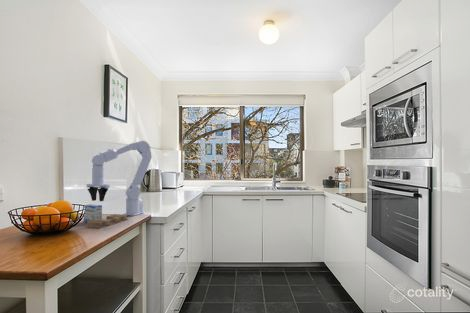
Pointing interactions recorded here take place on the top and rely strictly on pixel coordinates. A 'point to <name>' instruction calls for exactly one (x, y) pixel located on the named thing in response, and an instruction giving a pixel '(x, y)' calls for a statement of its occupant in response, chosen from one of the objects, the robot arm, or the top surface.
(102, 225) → the walnut channel
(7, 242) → the top surface
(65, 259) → the top surface
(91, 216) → the medicine box
